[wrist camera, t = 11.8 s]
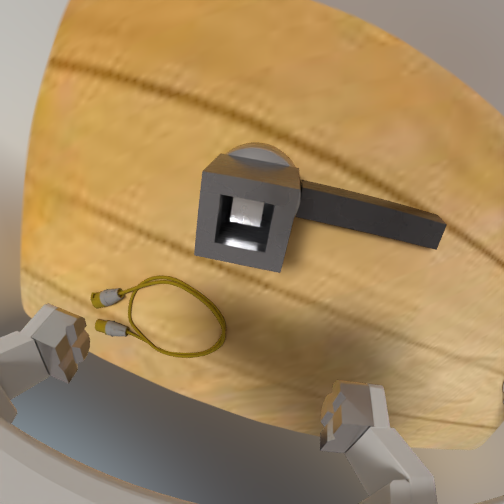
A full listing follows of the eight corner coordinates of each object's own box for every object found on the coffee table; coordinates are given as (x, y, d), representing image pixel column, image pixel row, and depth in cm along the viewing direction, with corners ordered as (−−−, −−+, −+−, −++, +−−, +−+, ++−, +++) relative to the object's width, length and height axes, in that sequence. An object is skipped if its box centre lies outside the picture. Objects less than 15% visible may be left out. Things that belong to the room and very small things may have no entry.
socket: (298, 168, 22) (300, 189, 18) (282, 237, 25) (280, 272, 21) (220, 153, 22) (202, 171, 18) (211, 223, 25) (194, 255, 21)
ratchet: (446, 191, 24) (475, 216, 19) (419, 260, 27) (439, 295, 22) (219, 136, 24) (200, 149, 19) (209, 216, 27) (190, 246, 23)
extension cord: (102, 241, 31) (93, 250, 29) (243, 303, 32) (240, 316, 30) (92, 318, 37) (85, 328, 35) (206, 369, 38) (203, 381, 36)
